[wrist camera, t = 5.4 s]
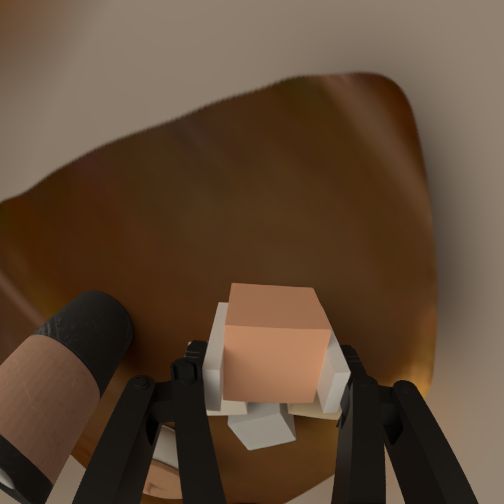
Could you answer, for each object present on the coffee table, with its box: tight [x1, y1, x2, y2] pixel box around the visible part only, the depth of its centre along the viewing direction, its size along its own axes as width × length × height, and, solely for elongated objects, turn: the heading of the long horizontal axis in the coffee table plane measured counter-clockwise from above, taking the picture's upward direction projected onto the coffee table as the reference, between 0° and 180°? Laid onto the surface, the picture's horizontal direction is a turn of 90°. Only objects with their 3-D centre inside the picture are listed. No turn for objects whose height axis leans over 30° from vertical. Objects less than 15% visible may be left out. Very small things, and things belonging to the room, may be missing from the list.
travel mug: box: [0, 291, 133, 504], centre depth 16 cm, size 8×8×20 cm
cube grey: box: [228, 402, 296, 450], centre depth 26 cm, size 5×5×5 cm
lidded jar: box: [143, 425, 182, 499], centre depth 27 cm, size 11×11×9 cm
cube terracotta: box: [223, 283, 332, 403], centre depth 16 cm, size 5×5×5 cm
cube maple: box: [287, 390, 342, 420], centre depth 24 cm, size 5×5×5 cm
